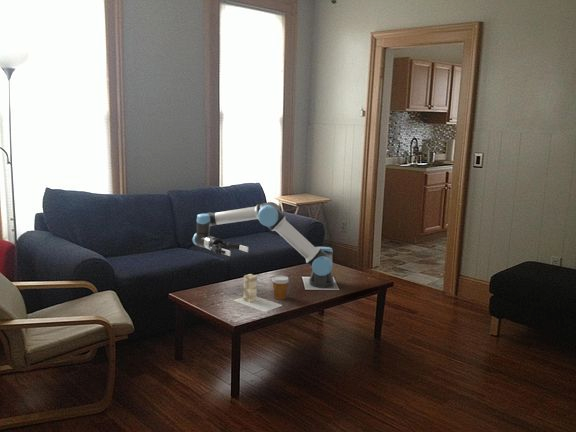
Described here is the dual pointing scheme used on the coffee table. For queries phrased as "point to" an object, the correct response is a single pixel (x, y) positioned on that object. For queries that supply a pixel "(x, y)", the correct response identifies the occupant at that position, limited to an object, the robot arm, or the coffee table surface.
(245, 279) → the block
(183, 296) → the coffee table surface
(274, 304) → the mat
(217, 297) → the coffee table surface
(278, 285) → the disposable coffee cup
